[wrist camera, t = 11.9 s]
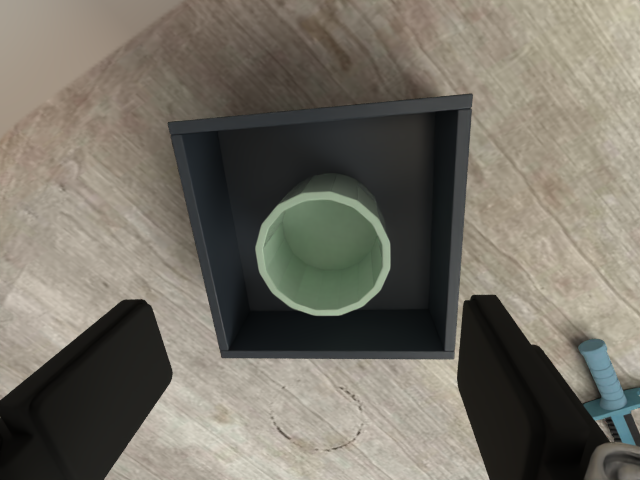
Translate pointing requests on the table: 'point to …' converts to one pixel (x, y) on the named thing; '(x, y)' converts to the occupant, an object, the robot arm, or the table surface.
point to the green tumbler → (325, 246)
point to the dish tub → (356, 162)
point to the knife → (611, 394)
